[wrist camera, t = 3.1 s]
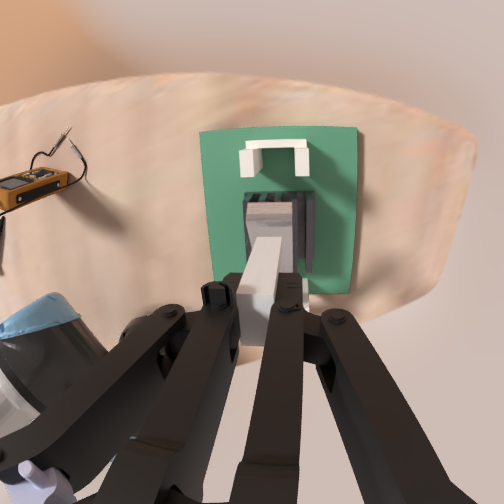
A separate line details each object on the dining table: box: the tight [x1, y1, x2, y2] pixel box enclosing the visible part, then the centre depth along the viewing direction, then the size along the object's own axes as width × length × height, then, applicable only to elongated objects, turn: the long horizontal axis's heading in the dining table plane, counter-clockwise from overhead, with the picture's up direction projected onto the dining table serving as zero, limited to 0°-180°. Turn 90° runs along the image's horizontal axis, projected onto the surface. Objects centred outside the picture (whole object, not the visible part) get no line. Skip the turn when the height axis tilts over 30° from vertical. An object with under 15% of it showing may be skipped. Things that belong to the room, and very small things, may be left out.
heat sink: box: [242, 191, 315, 273], centre depth 32 cm, size 8×8×5 cm
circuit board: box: [199, 126, 357, 312], centre depth 31 cm, size 21×18×9 cm
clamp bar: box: [246, 202, 293, 273], centre depth 26 cm, size 17×4×2 cm
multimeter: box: [0, 127, 86, 216], centre depth 26 cm, size 15×10×20 cm
